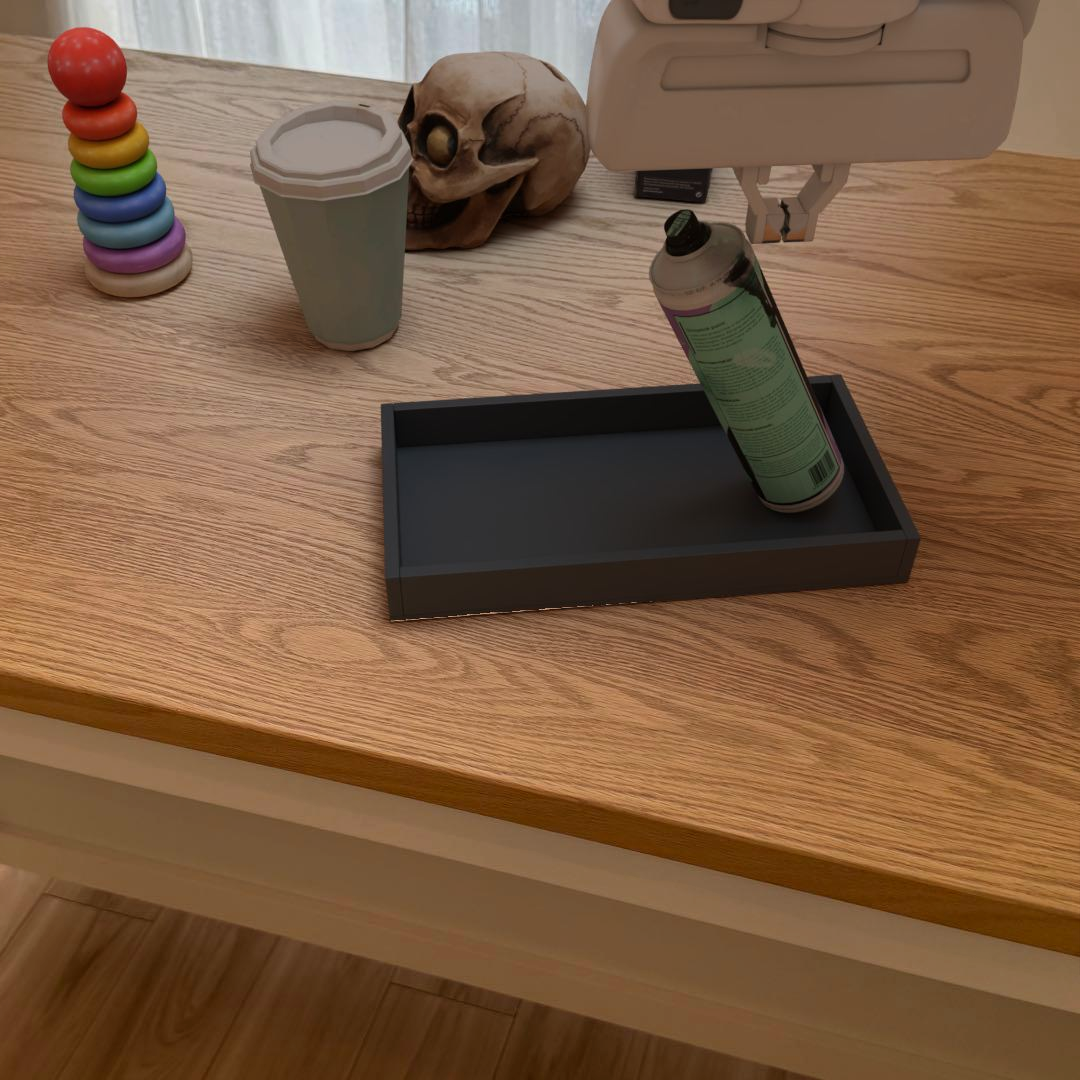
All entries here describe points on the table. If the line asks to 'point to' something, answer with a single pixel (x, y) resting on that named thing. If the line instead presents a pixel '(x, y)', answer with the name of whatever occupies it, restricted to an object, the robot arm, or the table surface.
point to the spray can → (746, 361)
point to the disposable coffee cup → (339, 215)
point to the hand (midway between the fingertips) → (778, 237)
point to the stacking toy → (115, 172)
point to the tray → (616, 505)
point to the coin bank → (488, 145)
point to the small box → (674, 184)
